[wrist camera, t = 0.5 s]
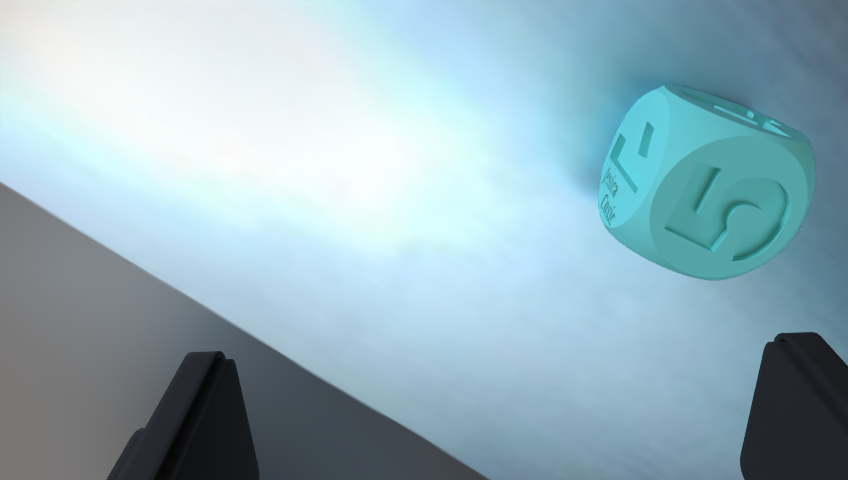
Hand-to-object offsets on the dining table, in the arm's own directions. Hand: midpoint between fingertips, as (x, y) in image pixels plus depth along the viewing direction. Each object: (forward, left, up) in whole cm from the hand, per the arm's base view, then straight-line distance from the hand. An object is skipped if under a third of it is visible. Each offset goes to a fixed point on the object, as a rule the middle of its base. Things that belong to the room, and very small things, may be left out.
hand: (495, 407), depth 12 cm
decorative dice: (+6, +13, -29) cm, 32 cm away
